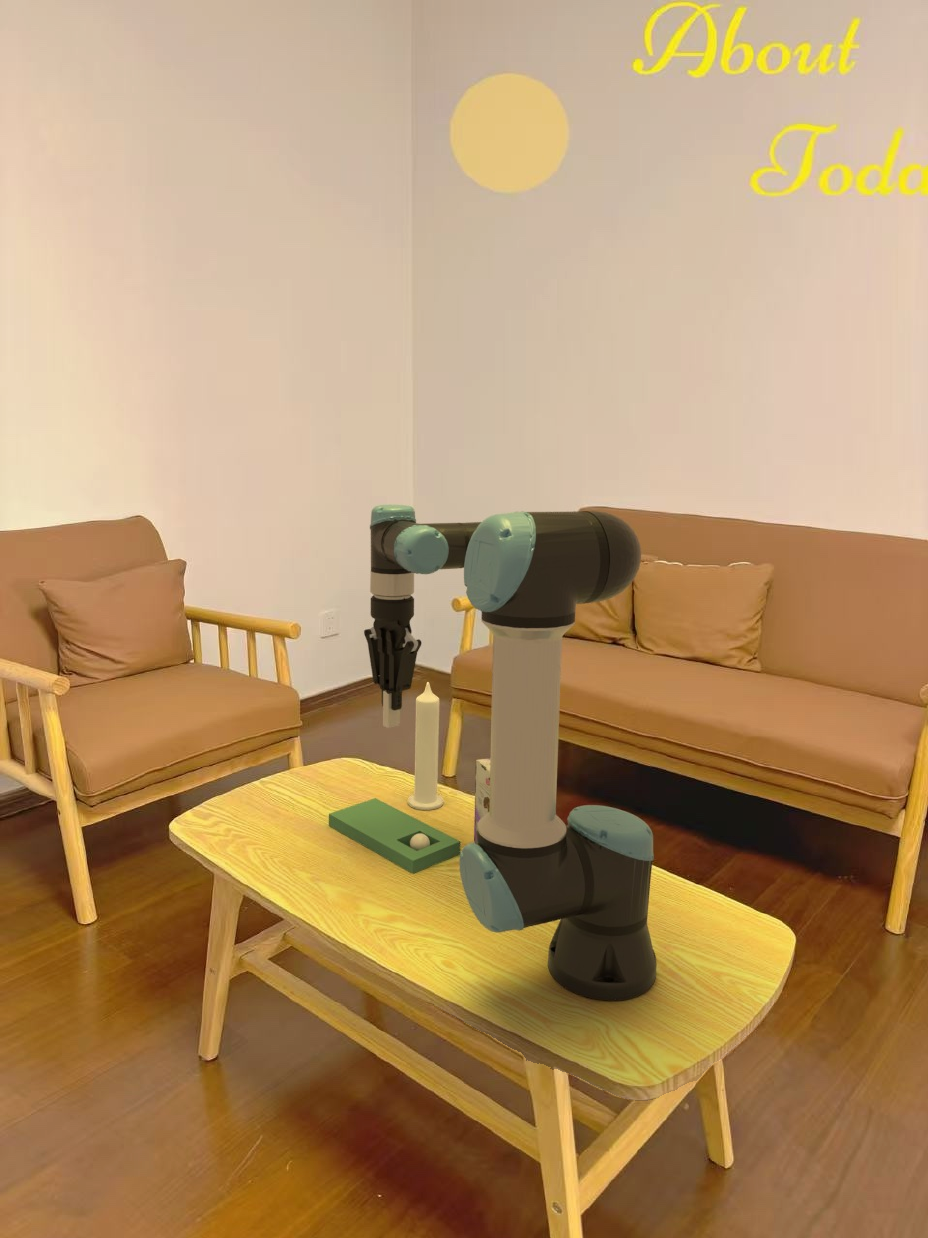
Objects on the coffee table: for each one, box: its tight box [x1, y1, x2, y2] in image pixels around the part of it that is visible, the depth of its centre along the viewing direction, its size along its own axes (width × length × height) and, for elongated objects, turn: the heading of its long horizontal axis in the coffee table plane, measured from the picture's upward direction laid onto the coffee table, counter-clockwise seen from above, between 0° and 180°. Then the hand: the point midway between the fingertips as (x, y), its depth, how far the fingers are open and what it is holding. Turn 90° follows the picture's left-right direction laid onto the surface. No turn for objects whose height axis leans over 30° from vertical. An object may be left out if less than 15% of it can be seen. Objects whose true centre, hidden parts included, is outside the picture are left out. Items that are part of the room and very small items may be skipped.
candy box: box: [473, 757, 491, 843], centre depth 161 cm, size 14×6×16 cm, turn 22°
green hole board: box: [328, 797, 461, 875], centre depth 168 cm, size 24×11×2 cm, turn 44°
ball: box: [410, 834, 430, 851], centre depth 163 cm, size 4×4×4 cm
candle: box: [407, 681, 444, 811], centre depth 182 cm, size 7×7×25 cm
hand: (391, 725), depth 165 cm, fingers closed
